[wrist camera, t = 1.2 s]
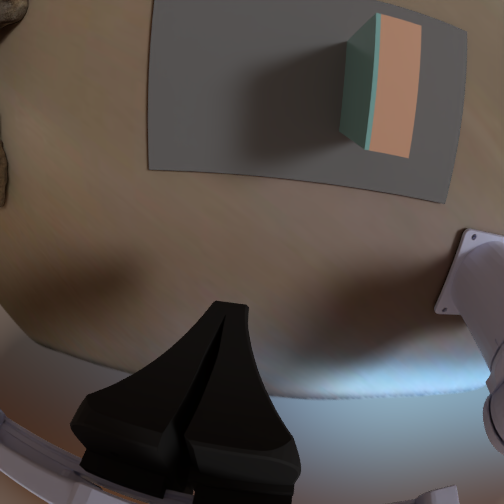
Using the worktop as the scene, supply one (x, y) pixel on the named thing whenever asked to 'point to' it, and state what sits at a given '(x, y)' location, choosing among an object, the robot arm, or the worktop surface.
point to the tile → (382, 85)
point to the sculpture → (3, 13)
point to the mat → (292, 94)
